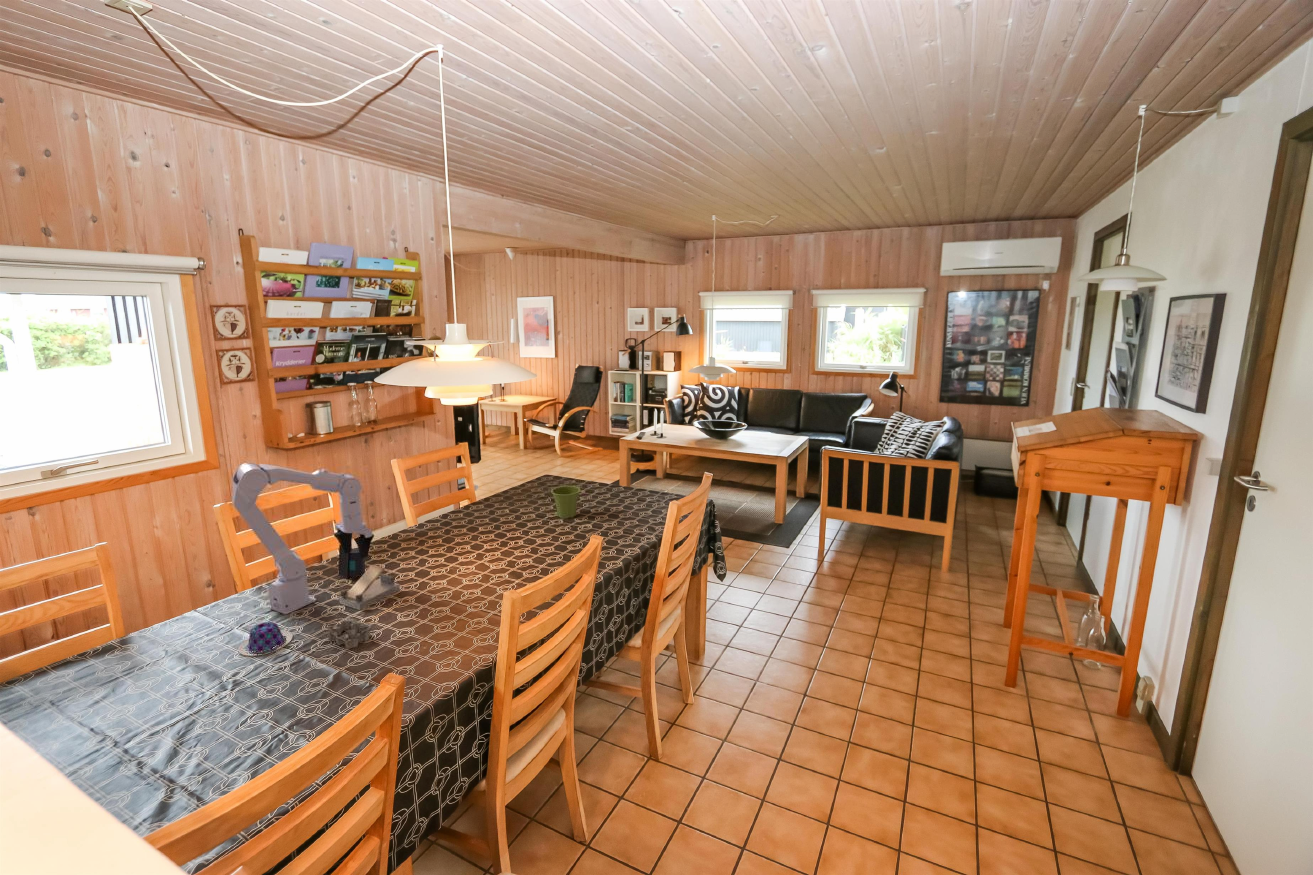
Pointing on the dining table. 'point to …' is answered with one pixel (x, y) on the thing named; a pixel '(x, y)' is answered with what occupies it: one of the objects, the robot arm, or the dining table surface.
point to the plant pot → (566, 500)
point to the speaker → (351, 563)
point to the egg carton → (349, 633)
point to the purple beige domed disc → (265, 638)
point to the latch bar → (365, 581)
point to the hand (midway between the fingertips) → (356, 554)
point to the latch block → (371, 593)
